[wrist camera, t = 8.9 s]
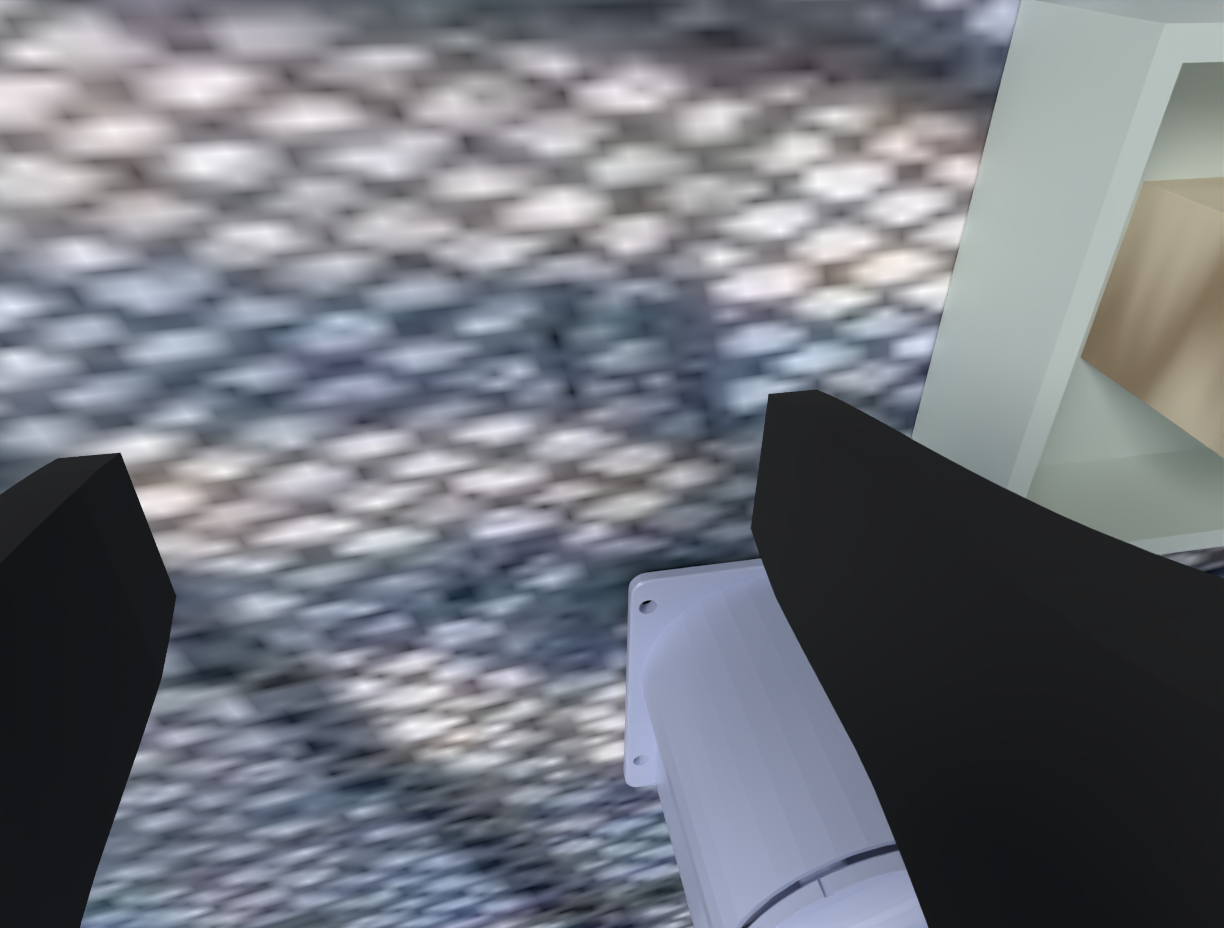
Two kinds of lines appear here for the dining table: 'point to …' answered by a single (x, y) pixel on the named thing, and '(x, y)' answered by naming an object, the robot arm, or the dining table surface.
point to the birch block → (1169, 307)
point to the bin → (1078, 268)
